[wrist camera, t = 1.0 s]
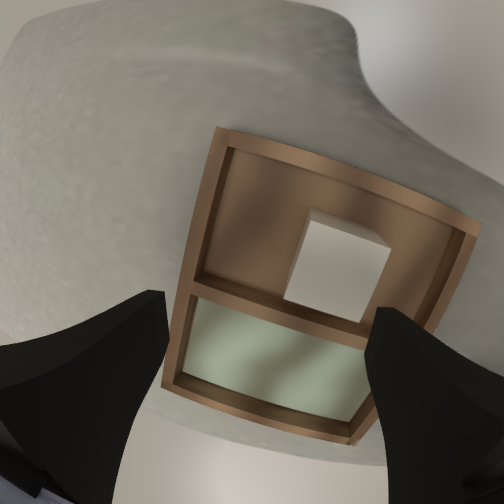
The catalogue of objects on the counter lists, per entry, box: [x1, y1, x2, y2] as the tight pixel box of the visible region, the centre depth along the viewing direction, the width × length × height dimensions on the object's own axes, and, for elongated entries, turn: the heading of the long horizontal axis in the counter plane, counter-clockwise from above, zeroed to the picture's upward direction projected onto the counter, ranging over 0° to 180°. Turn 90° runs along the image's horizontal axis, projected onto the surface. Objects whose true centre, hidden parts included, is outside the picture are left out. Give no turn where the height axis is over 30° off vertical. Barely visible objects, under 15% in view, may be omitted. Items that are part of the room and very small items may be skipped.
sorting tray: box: [161, 126, 482, 446], centre depth 21 cm, size 18×21×3 cm
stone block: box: [283, 207, 391, 323], centre depth 18 cm, size 4×4×5 cm
